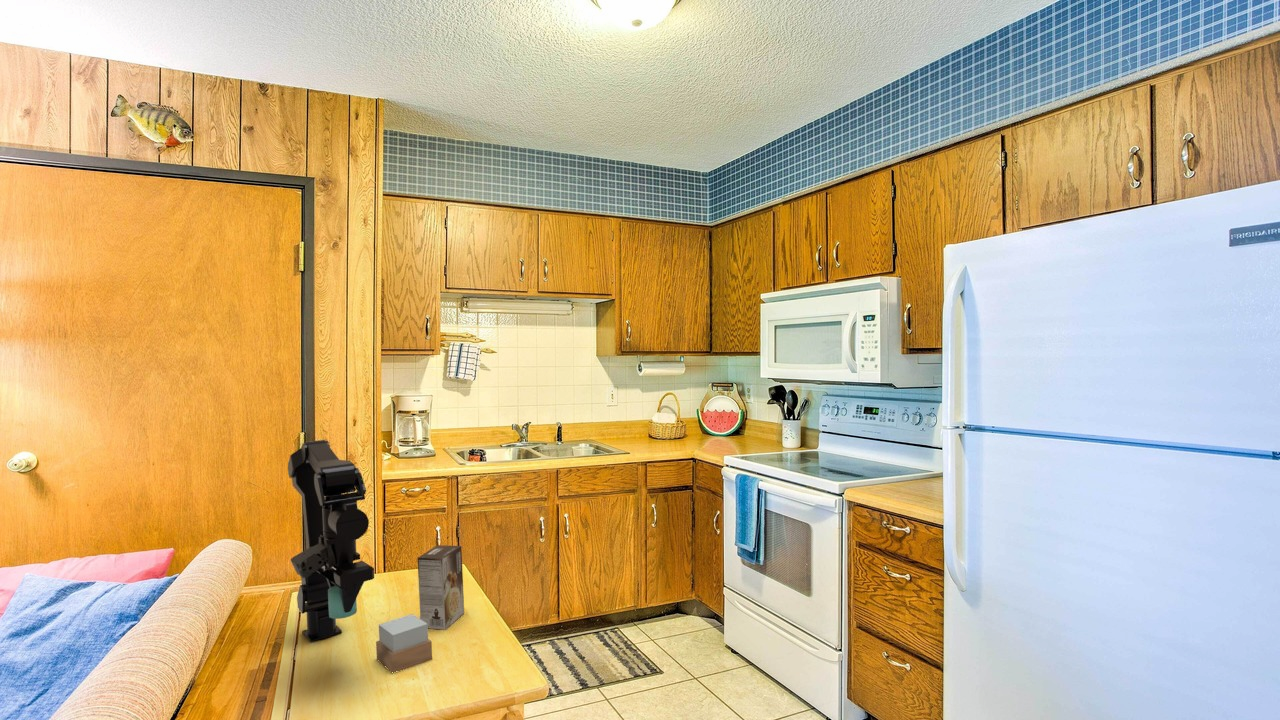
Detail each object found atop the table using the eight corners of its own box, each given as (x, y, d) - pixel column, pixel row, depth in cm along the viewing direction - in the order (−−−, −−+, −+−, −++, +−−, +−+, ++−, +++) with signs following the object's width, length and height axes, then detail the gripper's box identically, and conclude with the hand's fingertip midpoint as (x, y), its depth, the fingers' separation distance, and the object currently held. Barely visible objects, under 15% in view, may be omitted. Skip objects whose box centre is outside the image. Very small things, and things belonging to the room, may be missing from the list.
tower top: (379, 641, 135) (378, 624, 135) (413, 630, 140) (412, 613, 140) (393, 653, 130) (393, 635, 130) (428, 641, 135) (427, 623, 135)
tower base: (376, 661, 136) (376, 641, 136) (415, 647, 141) (414, 629, 141) (392, 675, 130) (391, 654, 130) (432, 660, 135) (431, 641, 135)
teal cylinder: (325, 613, 132) (324, 588, 132) (351, 606, 135) (350, 581, 135) (334, 621, 128) (332, 595, 128) (360, 613, 132) (359, 587, 131)
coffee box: (439, 611, 159) (437, 544, 158) (465, 613, 157) (462, 545, 157) (419, 628, 150) (416, 557, 149) (446, 630, 148) (443, 558, 148)
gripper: (280, 528, 133) (284, 606, 133) (310, 548, 119) (313, 636, 119) (339, 517, 140) (342, 591, 141) (373, 535, 126) (377, 617, 127)
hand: (342, 608), depth 132 cm, fingers closed on teal cylinder, 5 cm apart
